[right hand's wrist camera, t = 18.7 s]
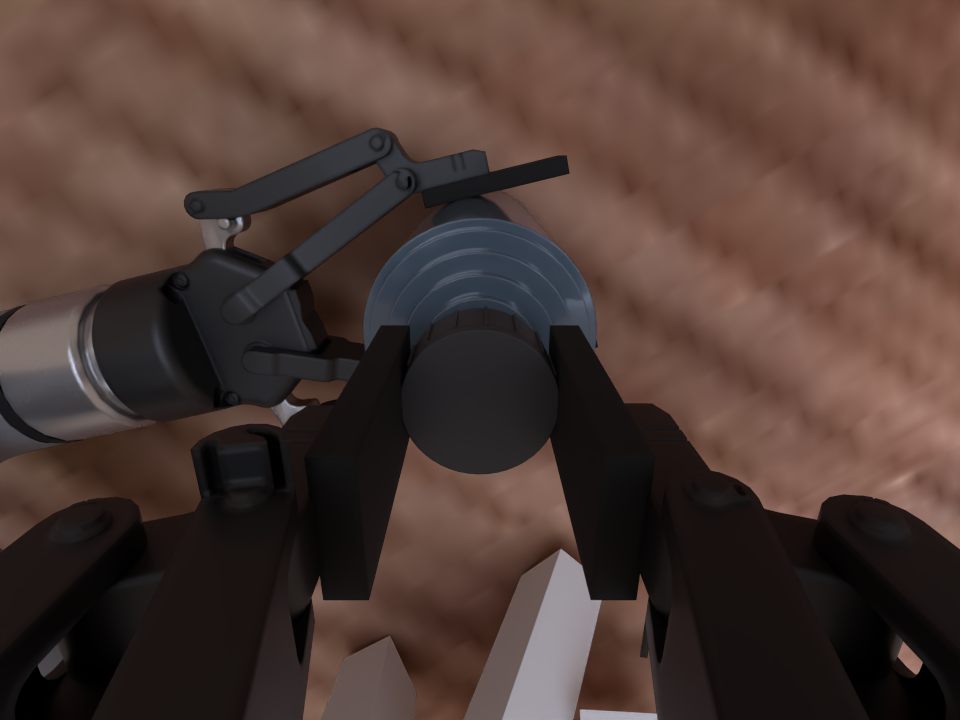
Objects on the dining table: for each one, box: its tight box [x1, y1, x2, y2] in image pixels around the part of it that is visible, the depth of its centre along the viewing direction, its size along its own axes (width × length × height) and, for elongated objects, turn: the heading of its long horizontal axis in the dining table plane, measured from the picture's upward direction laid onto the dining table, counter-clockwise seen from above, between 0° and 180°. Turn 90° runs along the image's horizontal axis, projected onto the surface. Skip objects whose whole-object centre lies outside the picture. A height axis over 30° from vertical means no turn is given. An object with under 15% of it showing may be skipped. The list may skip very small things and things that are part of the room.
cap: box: [401, 306, 558, 474], centre depth 13 cm, size 4×4×2 cm
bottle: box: [363, 191, 597, 354], centre depth 23 cm, size 8×8×21 cm
